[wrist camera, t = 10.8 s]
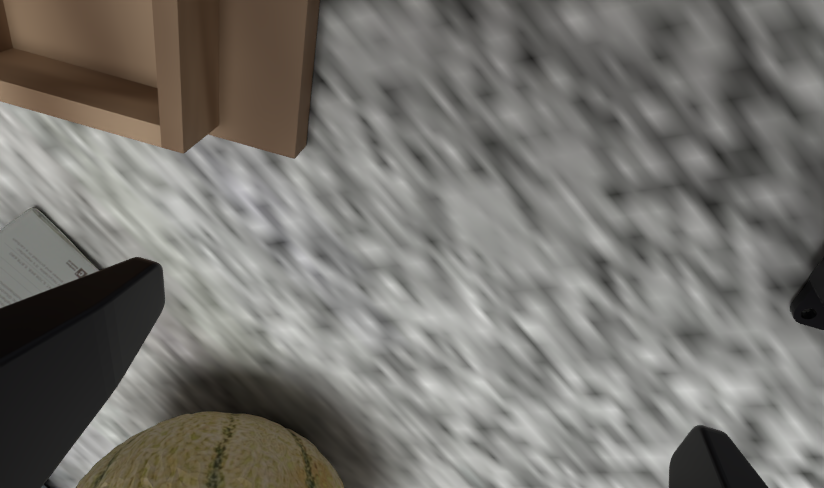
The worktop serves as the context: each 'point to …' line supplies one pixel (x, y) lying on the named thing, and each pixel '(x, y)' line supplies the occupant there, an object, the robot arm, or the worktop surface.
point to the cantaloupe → (214, 456)
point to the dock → (165, 67)
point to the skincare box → (36, 258)
